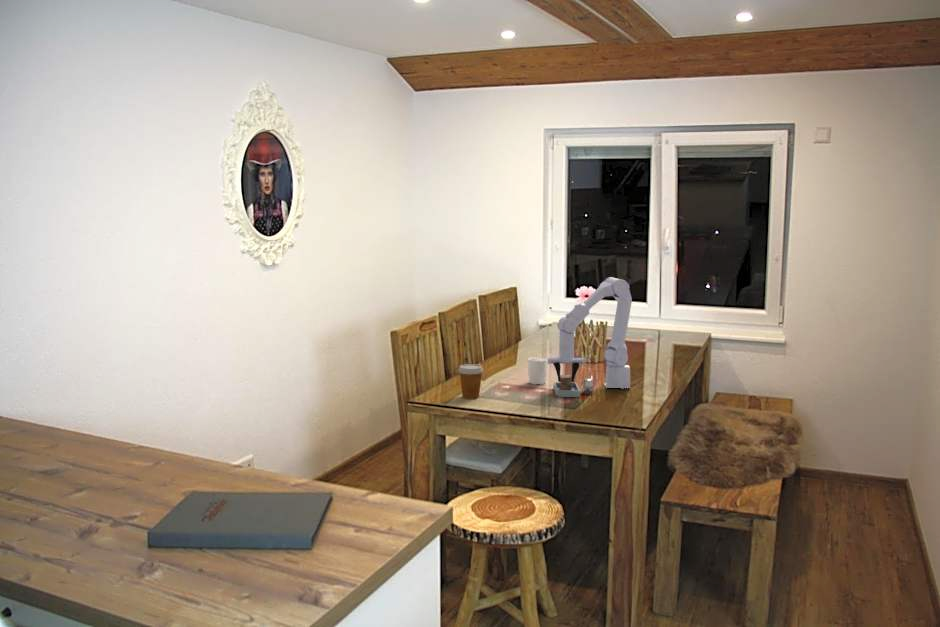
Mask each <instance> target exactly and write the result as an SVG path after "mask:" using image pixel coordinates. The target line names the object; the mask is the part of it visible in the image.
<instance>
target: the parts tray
mask: <svg viewBox="0 0 940 627" xmlns="http://www.w3.org/2000/svg"><path fill="white" fill-rule="evenodd" d="M554 390H555V391H554ZM553 391H554V393H555V396H556V395H557V396H559V397H558V398H581V389H580V387H579V384H578V382H576V381H574V382H572V386H571V390H561V388H560V382H557V381H556V382H555V381H554V382H553ZM557 396H556V397H557ZM560 396H561V397H560Z"/></svg>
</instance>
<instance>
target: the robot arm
mask: <svg viewBox="0 0 940 627" xmlns="http://www.w3.org/2000/svg"><path fill="white" fill-rule="evenodd" d="M605 297H613V298H614V299H615V300H616V302H617V303H616V309H615V315H614V316H615V317H614V322H613V327H612V328H613V329H612V334H611V340H610V341H609V342H608V343H607V345H606V349H605V350H604V352H603V359H605V360H606V369H605V370H606V371H605V373H606V374H605V382H603V385H604V387H605V388H606V389H607V388H621V389H622V390H623V389H624V388H625V389H626V388H627V389H628V388H630V389H631V367H630V365H628V364H627V363H628V360H629V355H628V347H627V345H626V342H625V341H626V339H627V331H628V326H629V319H630V315H631V314H630V313H631V308H632V304H633V303H632V301H633V299H632V295H631V291H630V284H629V282H627V281H626V280H625V279H622V278H616V277H613V276H609V277H607V278H605V280H603V281H602V282H601V283H600V284H599V286H598V288H596V290H594V291H593V293H592V294H590V295H589V297H588V298H587V299H586V300H585V301H584V303H578V304H575V305H574V306H573V307H574V308H572V309H571V311H569V312H568V313H566V314H565V316H563V317H561V318H560V319H559V320H558V322H557V323H556V326H557V329H558V330H559V344H558V345H559V348H558V350H559V352H558V357H548V358H547V365H551V364H553V366H554V369H555V371H556V375H557V381H558V382H560V378H561V369H562V368H561V364H566V365H567V364H571V377H572V382H575V377H576V375H577V372H578V370H579V368H580V364H582V365H585V364H586V359H585V358H584V357H583V358H582V357H575V332H576V331H577V328H578V325H579V324H580V323H582V321H584V319H586V317H588V316H589V315H590V310H591V309H592V308H593V307H594V306H596V304H598V303H599V302H600V301H601V300H602V299H603V298H605ZM627 389H626V390H627ZM628 390H629V389H628Z"/></svg>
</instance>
